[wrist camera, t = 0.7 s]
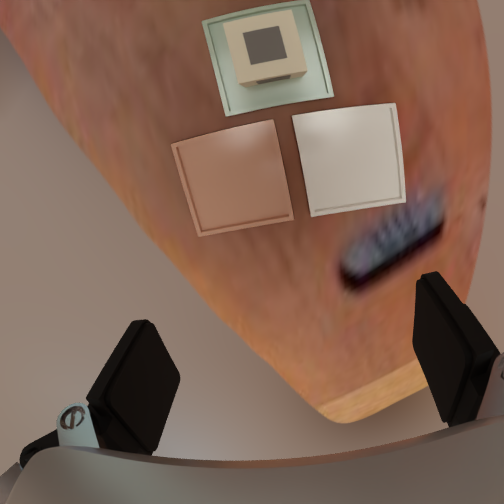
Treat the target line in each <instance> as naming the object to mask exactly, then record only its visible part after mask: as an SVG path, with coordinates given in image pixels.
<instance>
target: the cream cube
mask: <svg viewBox="0 0 504 504" xmlns="http://www.w3.org/2000/svg"><path fill="white" fill-rule="evenodd" d="M223 27H224V31H225V34H226V38H227V42H228V46H229V50H230V54H231V58H232V61H233V65H234V69H235V73H236V77H237V81H238V84H239V85H241V86H244V87H250V86H255V85H260V84H265V83H270V82H275V81H280V80H286V79H291V78H298V77H303V76H304V75H305V73H306V72H307V71H308V69H307V65H306V61H305V57H304V53H303V49H302V45H301V42H300V38H299V34H298V30H297V27H296V23H295V20H294V16H293V13H292V9H291V10H285V11H279V12H273V13H267V14H262V15H257V16H252V17H247V18H243V19H239V20H234V21H230V22H226V23H223Z"/></svg>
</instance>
